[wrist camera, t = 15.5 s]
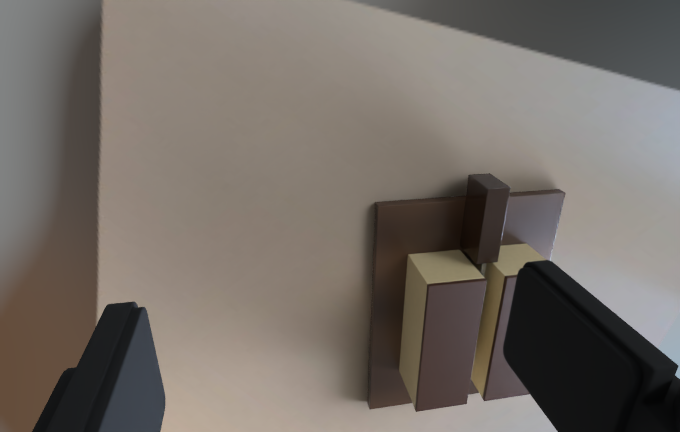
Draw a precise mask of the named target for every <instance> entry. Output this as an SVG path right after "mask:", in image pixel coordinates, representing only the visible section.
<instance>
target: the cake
mask: <svg viewBox="0 0 680 432" xmlns="http://www.w3.org/2000/svg"><path fill="white" fill-rule="evenodd" d="M542 260H546V259H545V258H544V257H542V256H541V255H540V254H539V253H538V252H536V251H535V250H534V249H533V248H532V247H530V246H529V245H528V244H527V243H525V244H515V245H504V246H500V252H499V258H498V262H495V263H487V264H486V270H485V276H484V277H483V276H482V274H481V273H480V272H479V271H478V270H477V269H476V268H475V267H474V265H473V264H472V263H471V262H470V261H469V260H468V259H467V258H466V256H465V255H464V254H463V253H462V252H461V251H460V250H450V251H439V252H428V253H418V254H408V259H407V273H406V286H405V299H404V312H403V325H402V339H401V352H400V365H399V372H400V374H401V376H402V379H403V381H404V384H405V386H406V388H407V391H408V393H409V395H410V398H411V400H412V403H413V405H414V407H415V410H416V412H417V411H424V410H430V409H436V408H443V407H449V406H456V405H462V404H467V398H468V392H469V386H470V380H472V382H473V383H474V385H475V387H476V388H477V390H478V392H479V393H480V395H481V397H482V398H483V400H484V401H488V400H495V399H501V398H508V397H514V396H521V395H527V394H530V393H529V392H528V390H527V389H526V388H525V386H524V385H523V384H522V382H521V381H520V380H519V378H518V377H517V375H516V374H515V373H514V371H513V370H512V369H511V367H510V366H509V365H508V363H507V362H506V360H505V358H504V354H503V345H504V340H505V335H506V330H507V325H508V320H509V314H510V309H511V304H512V299H513V294H514V289H515V284H516V279H517V274H518V271H519V270H520V269H521V268H523V266H524V264H525V263H527V262H532V261H542Z"/></svg>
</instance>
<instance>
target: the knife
mask: <svg viewBox="0 0 680 432" xmlns="http://www.w3.org/2000/svg"><path fill="white" fill-rule="evenodd" d="M509 194H510V187H509V186H508V185H506V184H505V183H503V182H502V181H500V180H499V179H497V178H496V177H494V176H493V175H491V174H490V173H489V174H473V175H469V177H468V185H467V192H466V200H465V208H464V216H463V223H462V231H461V239H460V246H461V248H462V249H463V250H464V251H465V252H466V253H467V257H466V258H467V259H468V260H469V261H470V262H471V263H472V264H473V265H474V267H475V268H476V269H477V270H478V271H479V272H480V273H481V274H482V276H483V277H484V276H485V270H486V264H487V263H495V262H498V258H499V252H500V246H501V240H502V234H503V228H504V223H505V217H506V211H507V205H508V199H509Z"/></svg>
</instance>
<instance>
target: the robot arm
mask: <svg viewBox="0 0 680 432" xmlns="http://www.w3.org/2000/svg"><path fill="white" fill-rule="evenodd" d="M503 354H504V358H505V360H506V362H507V363H508V365H509V366H510V367H511V369H512V370H513V371H514V373H515V374H516V375H517V377H518V378H519V380H520V381H521V382H522V384H523V385H524V386H525V388H526V389H527V390H528V392H529V393H530V394H531V396H532V397H533V399H534V400H535V401H536V403H537V404H538V405H539V407H540V408H541V409H542V411H543V412H544V413H545V415H546V416H547V418H548V419H549V420H550V422H551V423H552V424H553V426H554V427H555V428H556V430H557V431H558V432H680V379H679V378H677V377H676V376H675V373H676V371H677V368H678V365H677V364H676V363H674V362H673V361H672V360H671V359H669V358H668V357H667V356H666V355H665V354H663V353H662V352H661V351H660V350H659V349H657V348H656V347H655V346H654V345H653V344H651V343H650V342H649V341H648V340H646V339H645V338H644V337H643V336H642V335H640V334H639V333H638V332H637V331H636V330H634V329H633V328H632V327H631V326H629V325H628V324H627V323H626V322H625V321H623V320H622V319H621V318H620V317H619V316H617V315H616V314H615V313H614V312H612V311H611V310H610V309H609V308H608V307H606V306H605V305H604V304H603V303H602V302H600V301H599V300H598V299H597V298H595V297H594V296H593V295H592V294H591V293H589V292H588V291H587V290H586V289H585V288H583V287H582V286H581V285H580V284H578V283H577V282H576V281H575V280H574V279H572V278H571V277H570V276H569V275H568V274H566V273H565V272H564V271H563V270H561V269H560V268H559V267H558V266H557V265H555V264H554V263H553V262H551V261H550V260H542V261H532V262H527V263H525V264H524V266H523V268H521V269H520V270H519V271H518V274H517V279H516V284H515V289H514V294H513V299H512V304H511V309H510V314H509V320H508V325H507V330H506V335H505V340H504V345H503ZM164 411H165V392H164V388H163V383H162V379H161V374H160V369H159V365H158V360H157V356H156V351H155V347H154V342H153V337H152V333H151V328H150V324H149V319H148V314H147V311H146V308H145V307H139V308H138V306H137V304H136V303H135V302H126V303H116V304H108V305H107V306H106V307H105V309H104V311H103V313H102V316H101V318H100V320H99V322H98V324H97V326H96V328H95V330H94V332H93V334H92V336H91V339H90V340H89V343H88V345H87V347H86V349H85V351H84V353H83V355H82V357H81V359H80V361H79V363H78V365H77V367H76V368H68V369H67V370H66V371H64V372H63V374H62V375H61V377H60V379H59V381H58V383H57V385H56V386H55V388H54V391H53V392H52V394H51V396H50V398H49V400H48V402H47V404H46V406H45V408H44V410H43V412H42V414H41V416H40V418H39V420H38V422H37V423H36V425H35V427H34V429H33V431H32V432H160V430H161V425H162V420H163V416H164Z"/></svg>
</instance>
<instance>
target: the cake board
mask: <svg viewBox="0 0 680 432" xmlns="http://www.w3.org/2000/svg"><path fill="white" fill-rule="evenodd" d="M564 197H565V192H563V191H561V190H559V189H555V190H541V191H527V192H513V193H510V194H509V199H508V205H507V211H506V217H505V223H504V228H503V234H502V240H501V246H504V245H515V244H525V243H527V244H528V245H529V246H530V247H532V248H533V249H534V250H535V251H536V252H538V253H539V254H540V255H541V256H542V257H544V258H545V259H546V260H550V258H551V254H552V249H553V245H554V241H555V236H556V232H557V228H558V223H559V219H560V215H561V210H562V206H563V201H564ZM465 200H466V196H456V197H442V198H428V199H414V200H400V201H386V202H375V223H374V249H373V274H372V300H371V326H370V352H369V378H368V405H369V409H375V408H382V407H388V406H395V405H402V404H408V403H412V400H411V398H410V395H409V393H408V391H407V388H406V386H405V384H404V381H403V379H402V376H401V374H400V372H399V365H400V352H401V339H402V325H403V312H404V299H405V286H406V273H407V259H408V254H418V253H428V252H439V251H450V250H460V251H461V252H462V253H463V254H464V255H465V256H466V257H467V253H466V252H465V251H464V250H463V249H462V248H461V246H460V239H461V231H462V223H463V216H464V208H465ZM474 393H479V392H478V390H477V388H476V387H475V385H474V383H473V382H472V380H470V386H469V392H468V394H474Z"/></svg>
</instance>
